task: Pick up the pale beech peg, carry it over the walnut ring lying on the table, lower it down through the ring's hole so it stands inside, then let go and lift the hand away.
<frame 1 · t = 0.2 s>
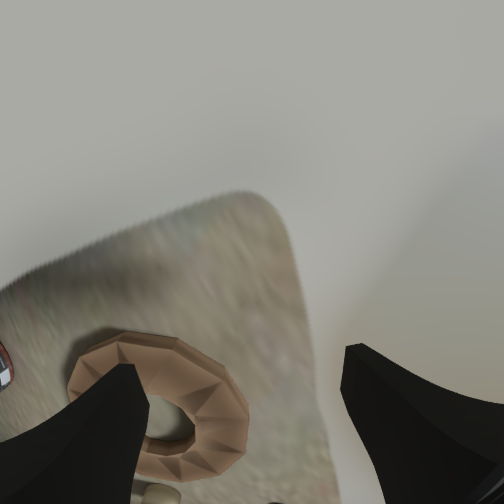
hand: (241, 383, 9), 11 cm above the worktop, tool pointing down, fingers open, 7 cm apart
beech peg: (163, 492, 21), on the worktop
walnut ring: (157, 413, 20), on the worktop
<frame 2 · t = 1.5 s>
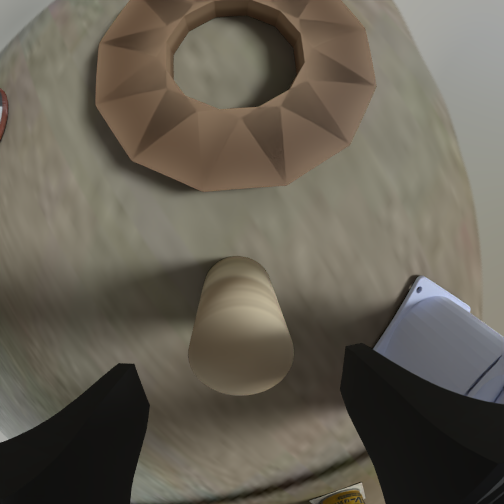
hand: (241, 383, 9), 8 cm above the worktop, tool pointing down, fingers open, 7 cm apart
beech peg: (237, 288, 17), on the worktop
condiment: (339, 498, 27), on the worktop
walnut ring: (234, 61, 13), on the worktop
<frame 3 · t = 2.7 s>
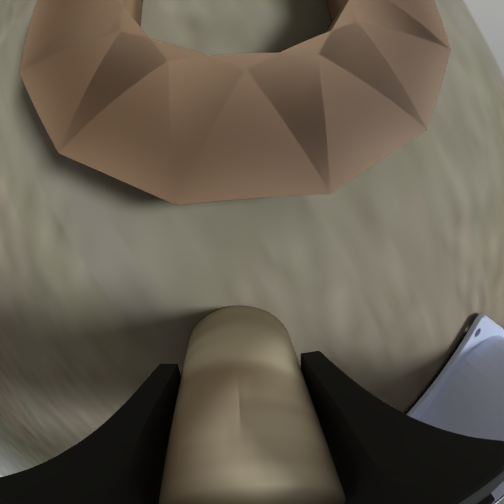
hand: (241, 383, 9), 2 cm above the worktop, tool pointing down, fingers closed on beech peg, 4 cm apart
beech peg: (239, 351, 11), on the worktop, touching gripper
walnut ring: (235, 0, 7), on the worktop
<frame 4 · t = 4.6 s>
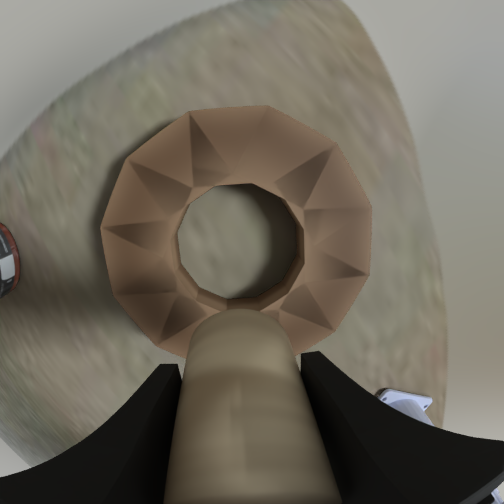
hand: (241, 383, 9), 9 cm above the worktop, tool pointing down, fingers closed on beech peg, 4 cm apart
supplement bottle: (1, 254, 16), on the worktop
beech peg: (239, 352, 11), point 7 cm above the worktop, touching gripper
walnut ring: (237, 243, 17), on the worktop
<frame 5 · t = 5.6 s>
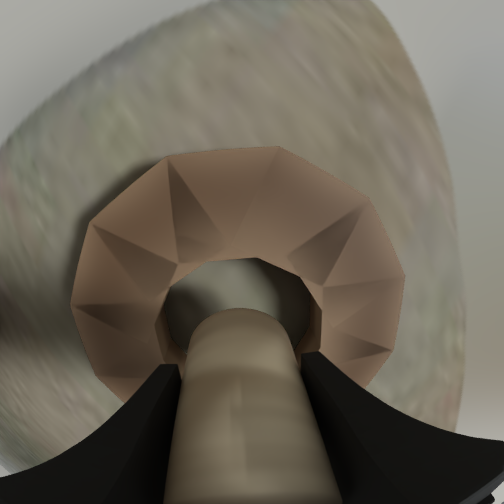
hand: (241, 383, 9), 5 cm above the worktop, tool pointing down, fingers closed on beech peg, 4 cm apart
beech peg: (239, 352, 11), point 3 cm above the worktop, touching gripper
walnut ring: (238, 317, 13), on the worktop
when the fingers open (3 cm above the worktop, at t = 6.4 s): beech peg stays where it is, resting in walnut ring.
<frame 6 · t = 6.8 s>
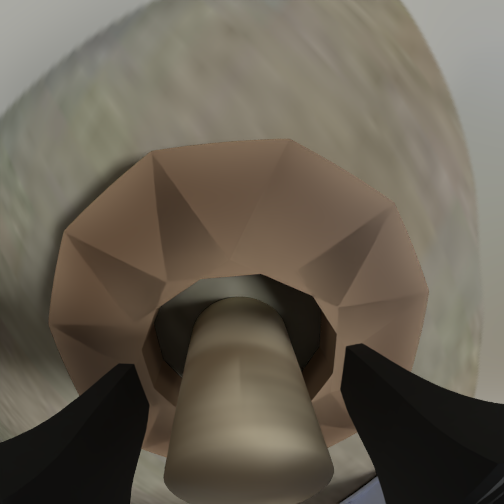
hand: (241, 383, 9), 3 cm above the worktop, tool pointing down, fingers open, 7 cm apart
beech peg: (239, 339, 12), resting in walnut ring
walnut ring: (239, 338, 12), on the worktop
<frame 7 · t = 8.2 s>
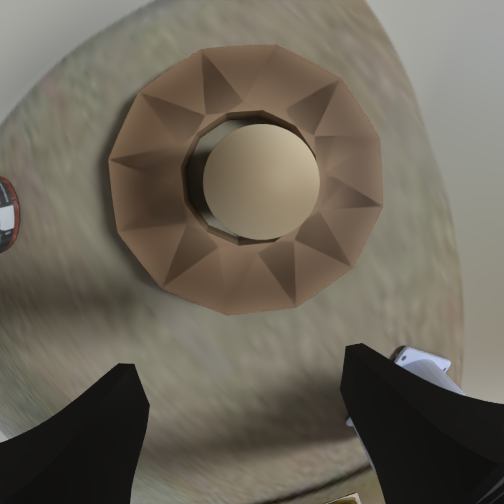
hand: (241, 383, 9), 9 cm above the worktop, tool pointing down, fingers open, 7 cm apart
supplement bottle: (1, 212, 15), on the worktop
beech peg: (248, 178, 16), resting in walnut ring
walnut ring: (248, 177, 16), on the worktop
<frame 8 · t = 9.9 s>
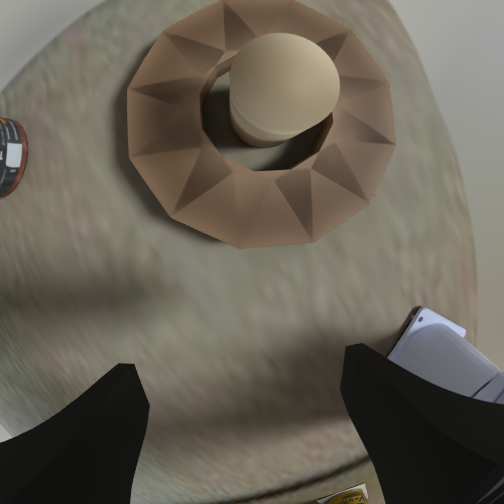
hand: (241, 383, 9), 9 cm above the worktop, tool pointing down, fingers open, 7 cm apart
supplement bottle: (8, 157, 14), on the worktop
beech peg: (264, 115, 15), resting in walnut ring
condiment: (343, 497, 29), on the worktop
walnut ring: (263, 113, 15), on the worktop
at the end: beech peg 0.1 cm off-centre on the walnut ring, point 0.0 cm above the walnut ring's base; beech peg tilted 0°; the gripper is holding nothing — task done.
